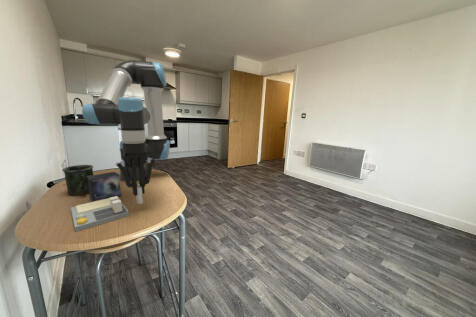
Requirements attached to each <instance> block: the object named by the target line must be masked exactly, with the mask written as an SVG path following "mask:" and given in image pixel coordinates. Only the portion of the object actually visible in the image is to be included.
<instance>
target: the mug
mask: <svg viewBox="0 0 476 317" xmlns="http://www.w3.org/2000/svg"><path fill="white" fill-rule="evenodd" d="M93 169H94V166H93V165H91V164H79V165H78V164H77V165H72V166H67V167H64V168H63V169H62V172H64V178H65V183H66V184H65V185H66V190H67V193H68V195H69V196H74V197H75V196H85V195H88V194H89V186H88V179H87V176H92V175H94V171H93Z"/></svg>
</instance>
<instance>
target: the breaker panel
mask: <svg viewBox="0 0 476 317" xmlns="http://www.w3.org/2000/svg"><path fill="white" fill-rule="evenodd" d="M121 203H122V211H121V212H118V213H114V211H113V209H112V208H111V205H110V198H107V199H103V200H99V201H94V202H92V201H91V202H86V203H83V204H82V203H81V204H78V205H76V206H73V207H72V206H71V207H70V210H71V216H72V221H73V226H74V230H75V232H79V231H82V230H85V229H88V228H89V229H90V228H93V227H95V226H98V225H99V226H100V225H102V224H105V223H109V222H113V221H115V220H118V219H121V218H122V219H123V218H126V217H129V216H130V212H129V210H128V209H127V207H126V206H125V205H124V203H123V202H122V201H121Z"/></svg>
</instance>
